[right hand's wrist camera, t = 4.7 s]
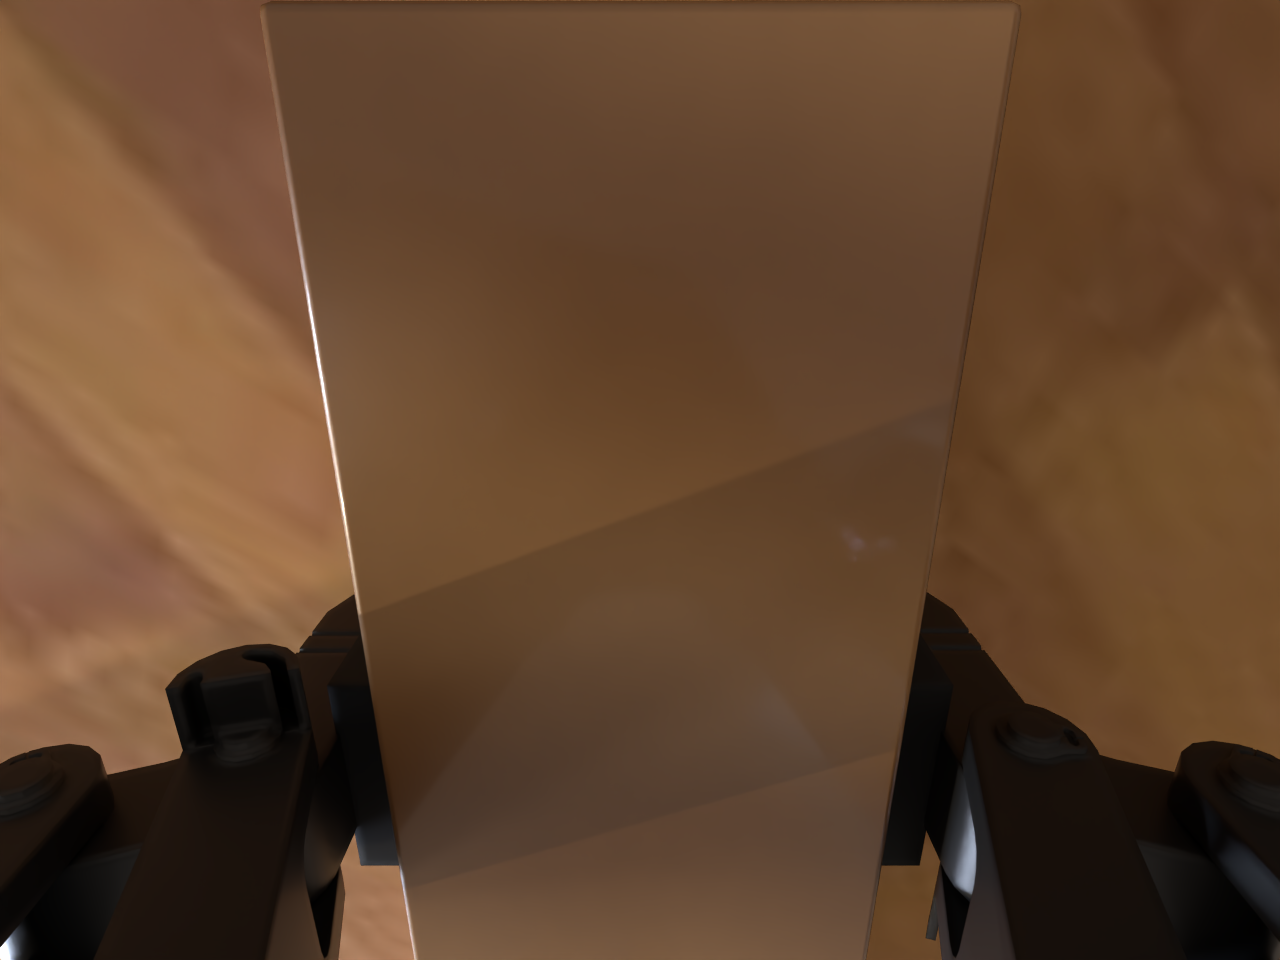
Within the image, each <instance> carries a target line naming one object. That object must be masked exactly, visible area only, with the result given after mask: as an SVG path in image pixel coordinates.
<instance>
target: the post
mask: <svg viewBox="0 0 1280 960" xmlns="http://www.w3.org/2000/svg"><path fill="white" fill-rule="evenodd" d="M260 18H261V25H262V31H263V37H264V43H265V49H266V55H267V61H268V67H269V73H270V80H271V86H272V92H273V98H274V104H275V110H276V116H277V122H278V128H279V135H280V141H281V147H282V153H283V159H284V165H285V171H286V177H287V183H288V190H289V196H290V202H291V208H292V214H293V220H294V226H295V232H296V238H297V245H298V251H299V257H300V263H301V269H302V275H303V281H304V287H305V293H306V299H307V306H308V312H309V318H310V324H311V330H312V336H313V342H314V348H315V354H316V361H317V367H318V373H319V379H320V385H321V391H322V397H323V403H324V409H325V416H326V422H327V428H328V434H329V440H330V446H331V452H332V458H333V464H334V471H335V477H336V483H337V489H338V495H339V501H340V507H341V513H342V519H343V526H344V532H345V538H346V544H347V550H348V556H349V562H350V568H351V574H352V580H353V587H354V593H355V599H356V605H357V611H358V617H359V623H360V629H361V635H362V642H363V648H364V654H365V660H366V666H367V672H368V678H369V684H370V690H371V697H372V703H373V709H374V715H375V721H376V727H377V733H378V739H379V745H380V752H381V758H382V764H383V770H384V776H385V782H386V788H387V794H388V800H389V807H390V813H391V819H392V825H393V831H394V837H395V843H396V849H397V855H398V861H399V868H400V874H401V880H402V886H403V892H404V898H405V904H406V910H407V916H408V923H409V929H410V935H411V941H412V947H413V953H414V959H415V960H866V957H867V951H868V944H869V938H870V932H871V926H872V920H873V914H874V908H875V902H876V896H877V890H878V884H879V877H880V871H881V865H882V859H883V853H884V847H885V841H886V835H887V829H888V823H889V816H890V810H891V804H892V798H893V792H894V786H895V780H896V774H897V768H898V762H899V756H900V749H901V743H902V737H903V731H904V725H905V719H906V713H907V707H908V701H909V695H910V689H911V682H912V676H913V670H914V664H915V658H916V652H917V646H918V640H919V634H920V628H921V621H922V615H923V609H924V603H925V597H926V591H927V585H928V579H929V573H930V567H931V561H932V554H933V548H934V542H935V536H936V530H937V524H938V518H939V512H940V506H941V500H942V494H943V487H944V481H945V475H946V469H947V463H948V457H949V451H950V445H951V439H952V433H953V426H954V420H955V414H956V408H957V402H958V396H959V390H960V384H961V378H962V372H963V366H964V359H965V353H966V347H967V341H968V335H969V329H970V323H971V317H972V311H973V305H974V299H975V292H976V286H977V280H978V274H979V268H980V262H981V256H982V250H983V244H984V238H985V231H986V225H987V219H988V213H989V207H990V201H991V195H992V189H993V183H994V177H995V171H996V164H997V158H998V152H999V146H1000V140H1001V134H1002V128H1003V122H1004V116H1005V110H1006V104H1007V97H1008V91H1009V85H1010V79H1011V73H1012V67H1013V61H1014V55H1015V49H1016V43H1017V36H1018V30H1019V24H1020V18H1021V9H1020V5H1018V4H1016V3H1013V2H1011V1H270V2H267V3H265V4H263V5H261V9H260Z"/></svg>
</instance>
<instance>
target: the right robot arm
mask: <svg viewBox="0 0 1280 960" xmlns="http://www.w3.org/2000/svg"><path fill="white" fill-rule="evenodd" d="M312 633H313V634H312V636H309V637H308V638H307V640H306V641H305V642H304V644H303V645H302V646H301V648H300V652H299V653H296V654H294V653H293V652H292V651H291V650H289V649H288V648H286V647H281V646H277V645H272V644H257V645H244V646H240V647H236V648H232V649H227V650H223V651H220V652H218V653H215V654H213V655H211V656H208V657H206V658H203V659H201V660H199V661H197V662H195V663H194V664H192V665H191V666H189V667H188V668H186V669H185V670H183V671H182V672H180V673H179V674H177V676H176V677H175V678H174V679H173V680H172V682H171V683H170V684H169V685H168V686H167V687H166V689H165V690H166V693H167V697H168V700H169V704H170V707H171V711H172V714H173V718H174V721H175V725H176V728H177V732H178V735H179V739H180V742H181V746H182V749H183V752H182V754H181V756H180V758H179V759H175V760H172V761H168V762H165V763H160V764H156V765H151V766H146V767H142V768H137V769H132V770H128V771H123V772H119V773H114V774H109V775H107V773H106V771H105V768H104V765H103V762H102V759H101V756H100V754H98V753H97V752H96V751H94V750H93V749H92V748H90V747H89V746H82V745H74V744H64V745H57V746H50V747H43V748H40V749H36V750H32V751H29V752H28V753H23V754H20V755H17V756H15V757H12V758H10V759H8V760H7V761H5V762H3V763H1V764H0V957H1V959H2V960H338V957H339V948H340V939H341V929H342V920H343V910H344V901H345V889H344V882H343V876H342V871H341V866H340V864H341V862H342V860H343V857H344V855H345V853H346V851H347V849H348V846H349V844H350V842H351V840H352V838H353V835H354V833H355V837H356V842H357V847H358V852H359V858H360V863H361V865H399V861H398V855H397V849H396V843H395V837H394V831H393V825H392V819H391V813H390V807H389V800H388V794H387V788H386V782H385V776H384V770H383V764H382V758H381V752H380V745H379V739H378V733H377V727H376V721H375V715H374V709H373V703H372V697H371V690H370V684H369V678H368V672H367V666H366V660H365V654H364V648H363V642H362V635H361V629H360V623H359V617H358V611H357V605H356V599H355V595H352V596H351V597H349V598H348V599H346V600H345V601H343V602H342V603H340V604H339V605H337V606H336V607H334V608H333V609H331V610H330V611H328V612H327V613H326V615H325V616H324V617H323V619H322V620H321V621H320V623H319V624H318V625H317V627H316V628H315V629H314V630H313V632H312ZM926 831H927V833H928V835H929V837H930V840H931V842H932V844H933V846H934V848H935V851H936V853H937V855H938V857H939V859H940V866H939V871H938V876H937V881H936V886H935V891H934V896H933V901H932V906H931V910H930V915H929V920H928V926H927V933H926V938H927V939H931V940H936V935H937V931H938V927H939V937H940V946H941V956H942V960H1280V760H1279V759H1277V758H1275V757H1274V756H1272V755H1270V754H1267V753H1265V752H1262V751H1259V750H1254V749H1253V748H1250V747H1246V746H1242V745H1239V744H1232V743H1225V742H1218V741H1207V742H1199V743H1192V744H1191V745H1190V746H1189V747H1187V748H1186V749H1185V750H1183V751H1182V752H1181V755H1180V758H1179V761H1178V764H1177V766H1176V769H1175V772H1172V771H1167V770H1162V769H1158V768H1153V767H1148V766H1144V765H1139V764H1135V763H1130V762H1125V761H1121V760H1116V759H1113V758H1109V757H1105V756H1102V755H1099V753H1098V750H1097V749H1096V747H1095V746H1094V745H1093V743H1092V742H1091V740H1090V739H1089V738H1088V736H1087V735H1086V734H1085V733H1084V732H1083V731H1082V730H1080V729H1079V728H1078V727H1076V726H1075V725H1074V724H1072V723H1071V722H1070V721H1069V720H1067V719H1065V718H1063V717H1061V716H1059V715H1057V714H1055V713H1053V712H1051V711H1049V710H1047V709H1044V708H1041V707H1037V706H1033V705H1030V704H1026V703H1024V701H1023V700H1022V699H1021V697H1020V696H1019V695H1018V693H1017V692H1016V691H1015V690H1014V688H1013V687H1012V686H1011V684H1010V683H1009V682H1008V680H1007V679H1006V678H1005V677H1004V675H1003V674H1002V673H1001V671H1000V670H999V669H998V667H997V666H996V665H995V663H994V662H993V661H992V660H991V658H990V657H989V656H988V654H987V653H986V652H985V650H981V645H980V644H979V643H978V641H977V640H976V639H975V637H974V636H973V635H972V633H969V632H968V628H967V627H966V626H965V624H964V623H963V622H962V620H961V619H960V618H959V616H958V615H957V614H956V612H955V611H954V610H953V609H952V608H950V607H949V606H947V605H946V604H944V603H943V602H941V601H940V600H938V599H937V598H935V597H933V596H932V595H930V594H929V593H927V592H926V597H925V603H924V609H923V615H922V621H921V628H920V634H919V640H918V646H917V652H916V658H915V664H914V670H913V676H912V682H911V689H910V695H909V701H908V707H907V713H906V719H905V725H904V731H903V737H902V743H901V749H900V756H899V762H898V768H897V774H896V780H895V786H894V792H893V798H892V804H891V810H890V816H889V823H888V829H887V835H886V841H885V847H884V853H883V859H882V865H920V860H921V855H922V850H923V844H924V839H925V834H926Z"/></svg>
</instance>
